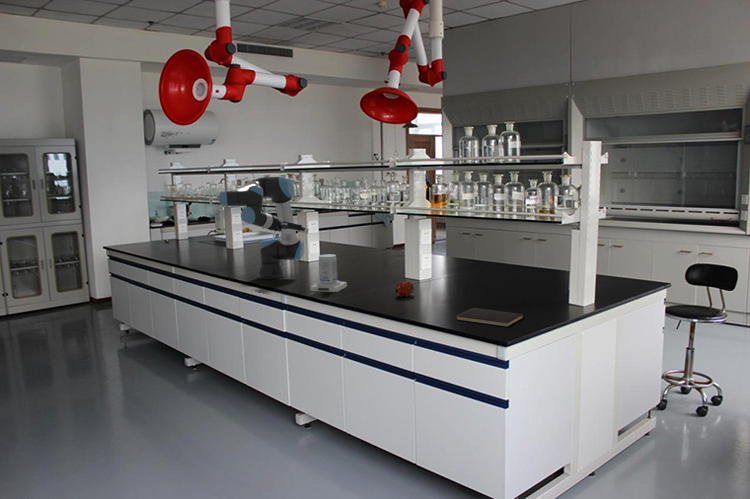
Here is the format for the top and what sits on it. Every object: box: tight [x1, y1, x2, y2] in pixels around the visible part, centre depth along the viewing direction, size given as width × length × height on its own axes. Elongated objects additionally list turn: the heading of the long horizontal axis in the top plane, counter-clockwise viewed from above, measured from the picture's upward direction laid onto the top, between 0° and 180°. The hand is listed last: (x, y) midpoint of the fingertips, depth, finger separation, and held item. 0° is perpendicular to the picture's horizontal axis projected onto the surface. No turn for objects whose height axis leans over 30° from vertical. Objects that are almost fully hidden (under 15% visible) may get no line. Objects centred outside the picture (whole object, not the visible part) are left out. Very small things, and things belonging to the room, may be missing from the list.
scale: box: [309, 279, 348, 293], centre depth 320 cm, size 15×15×4 cm
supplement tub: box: [318, 253, 338, 284], centre depth 319 cm, size 10×10×15 cm
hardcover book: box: [455, 307, 524, 327], centre depth 248 cm, size 16×23×2 cm
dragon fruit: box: [394, 280, 415, 298], centre depth 296 cm, size 8×8×12 cm
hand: (299, 231), depth 317 cm, fingers open, 13 cm apart
